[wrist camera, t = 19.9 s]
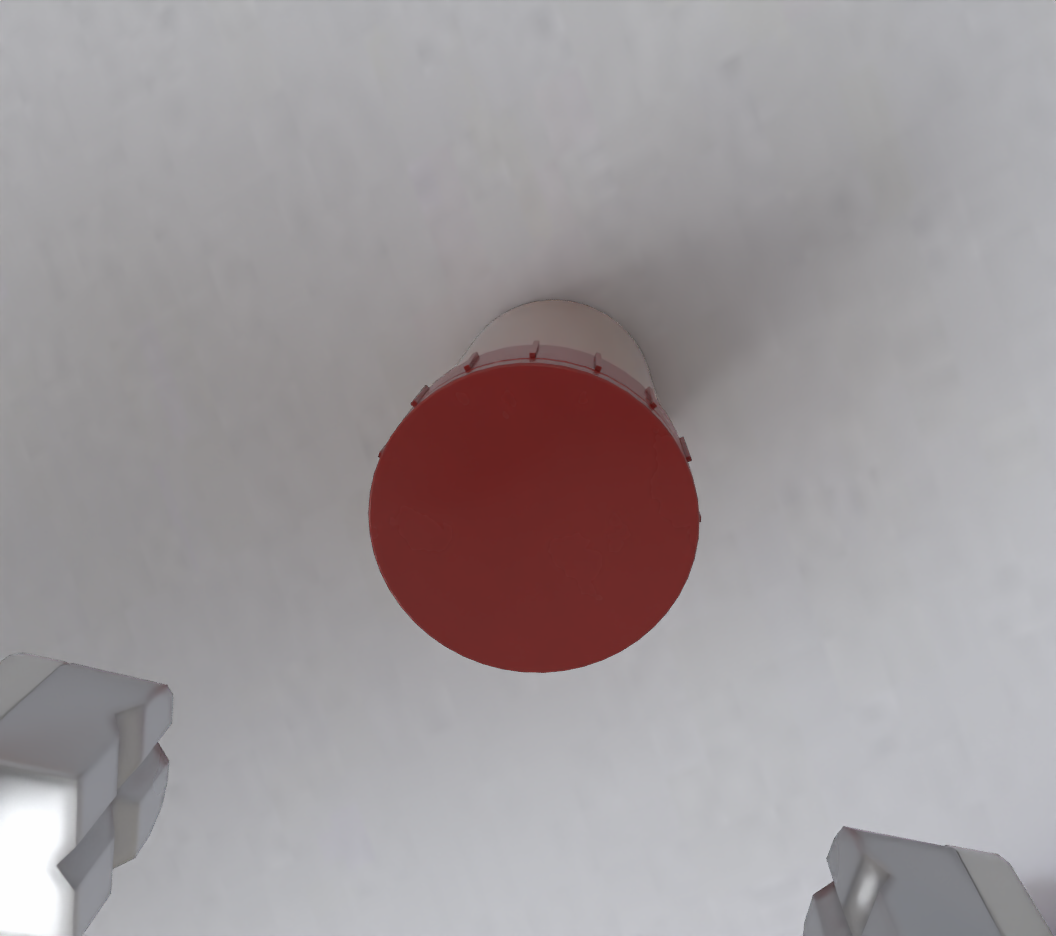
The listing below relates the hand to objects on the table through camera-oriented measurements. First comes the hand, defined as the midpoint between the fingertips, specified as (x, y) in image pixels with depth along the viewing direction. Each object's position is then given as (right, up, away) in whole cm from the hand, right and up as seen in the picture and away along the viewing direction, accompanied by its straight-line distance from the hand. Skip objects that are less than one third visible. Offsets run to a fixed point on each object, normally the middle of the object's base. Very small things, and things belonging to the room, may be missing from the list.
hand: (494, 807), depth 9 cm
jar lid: (0, +2, +8) cm, 8 cm away
